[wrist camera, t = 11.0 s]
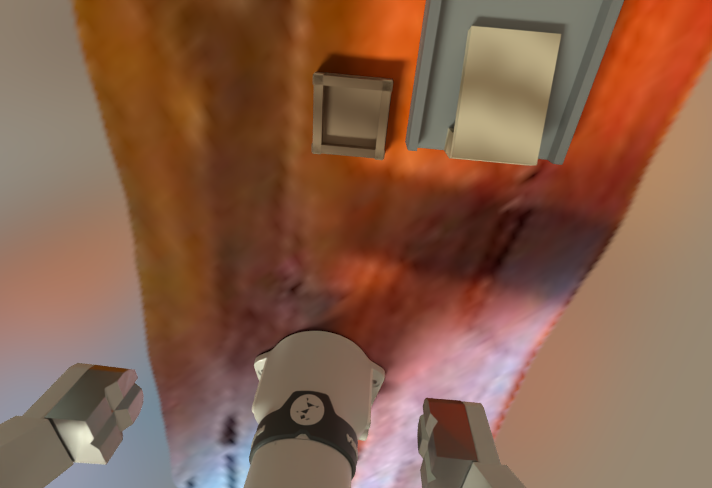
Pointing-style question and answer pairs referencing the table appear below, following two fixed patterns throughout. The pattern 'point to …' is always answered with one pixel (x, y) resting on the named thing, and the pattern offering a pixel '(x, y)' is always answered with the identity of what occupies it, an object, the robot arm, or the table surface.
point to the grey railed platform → (517, 12)
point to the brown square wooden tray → (350, 114)
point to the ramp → (503, 95)
